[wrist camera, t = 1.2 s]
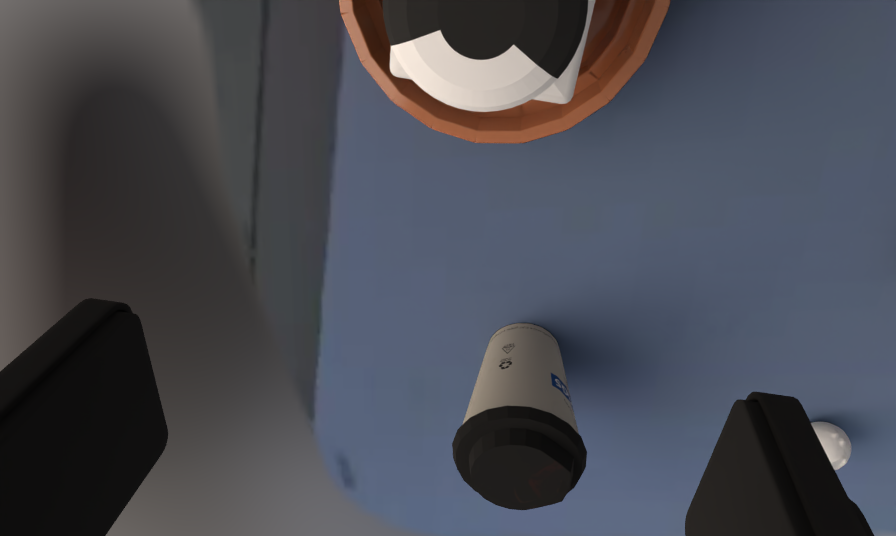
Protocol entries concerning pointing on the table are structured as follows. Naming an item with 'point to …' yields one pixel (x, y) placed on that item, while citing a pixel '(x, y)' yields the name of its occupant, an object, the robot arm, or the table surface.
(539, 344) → the coffee cup
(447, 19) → the medicine bottle
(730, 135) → the table surface
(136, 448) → the robot arm
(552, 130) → the bowl
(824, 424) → the white bumpy ball
